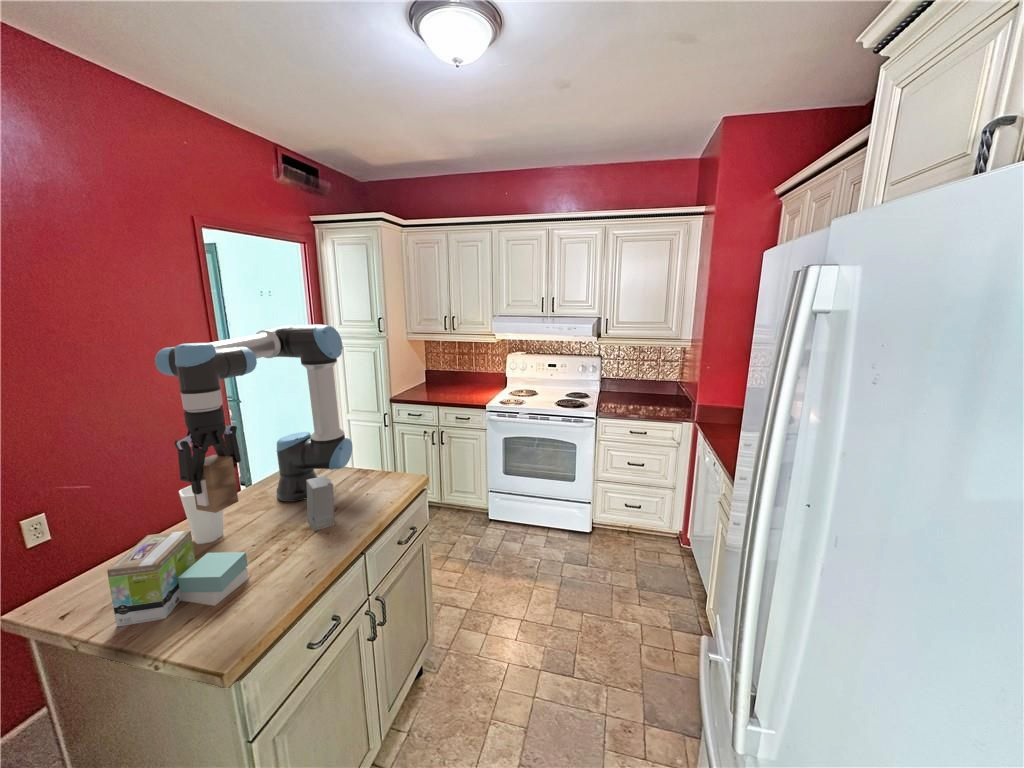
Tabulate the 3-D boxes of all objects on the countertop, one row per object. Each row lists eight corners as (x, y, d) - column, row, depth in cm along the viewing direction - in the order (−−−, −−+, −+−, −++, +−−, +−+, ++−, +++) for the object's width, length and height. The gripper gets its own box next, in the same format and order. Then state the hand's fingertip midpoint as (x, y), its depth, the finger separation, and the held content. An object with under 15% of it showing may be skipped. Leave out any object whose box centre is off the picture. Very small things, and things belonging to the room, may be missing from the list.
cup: (212, 527, 132) (204, 479, 129) (237, 530, 130) (230, 481, 127) (178, 546, 121) (169, 494, 118) (205, 550, 119) (197, 498, 116)
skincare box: (307, 523, 134) (302, 479, 131) (329, 516, 139) (325, 474, 136) (314, 534, 128) (310, 488, 125) (337, 526, 132) (333, 482, 129)
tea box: (167, 620, 93) (157, 563, 90) (115, 628, 90) (103, 570, 88) (199, 578, 107) (191, 528, 104) (155, 584, 105) (145, 533, 102)
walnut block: (220, 498, 103) (213, 454, 101) (238, 501, 101) (232, 456, 99) (196, 509, 97) (189, 463, 95) (215, 512, 96) (208, 465, 93)
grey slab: (217, 576, 108) (215, 563, 107) (249, 581, 106) (247, 568, 106) (181, 603, 99) (178, 589, 98) (215, 608, 97) (213, 594, 96)
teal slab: (209, 566, 106) (207, 552, 106) (247, 565, 107) (245, 552, 106) (180, 592, 97) (177, 577, 96) (222, 591, 97) (220, 576, 96)
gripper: (228, 398, 105) (239, 481, 109) (147, 417, 87) (164, 515, 91) (251, 400, 103) (261, 484, 107) (173, 420, 85) (189, 519, 89)
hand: (216, 498), depth 99 cm, fingers closed on walnut block, 6 cm apart
